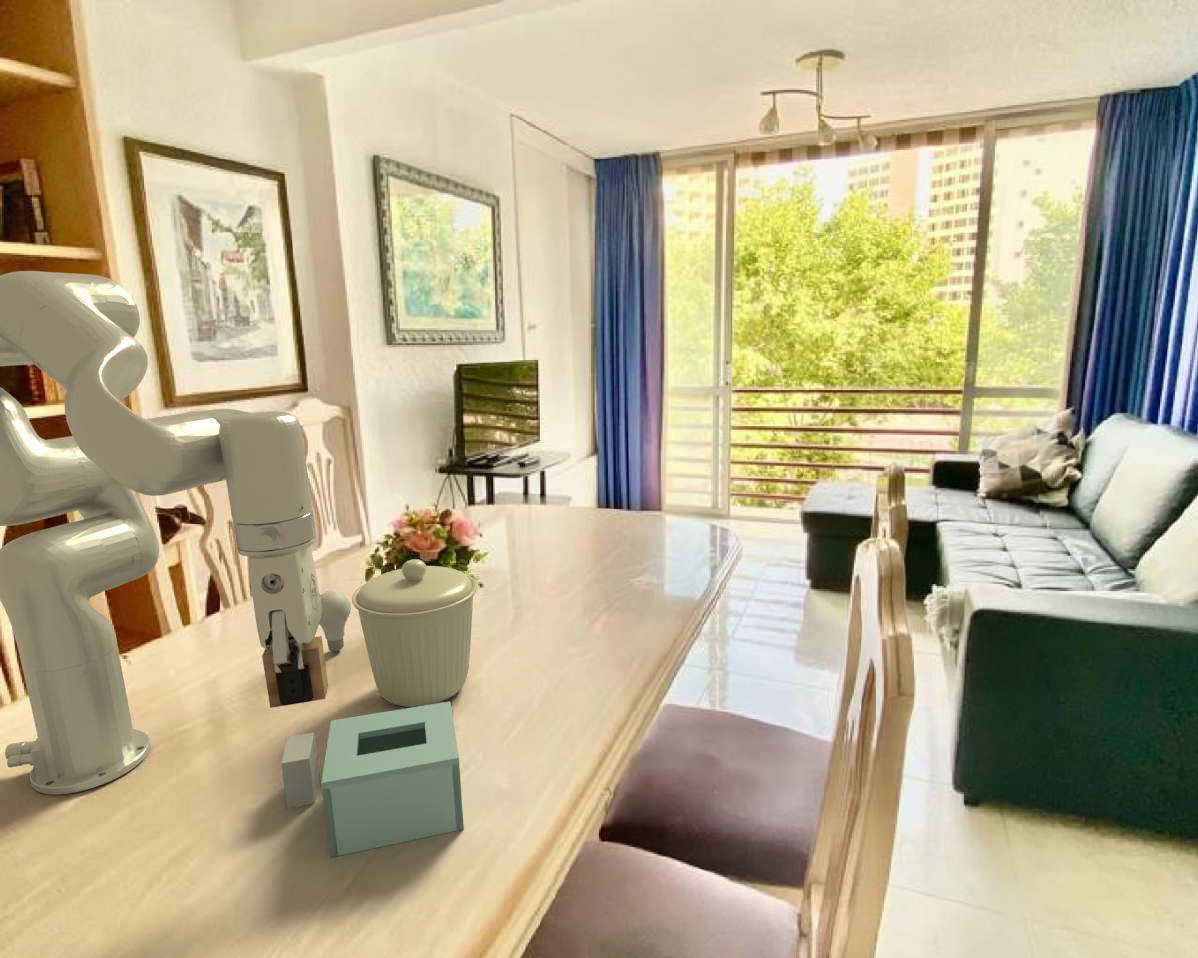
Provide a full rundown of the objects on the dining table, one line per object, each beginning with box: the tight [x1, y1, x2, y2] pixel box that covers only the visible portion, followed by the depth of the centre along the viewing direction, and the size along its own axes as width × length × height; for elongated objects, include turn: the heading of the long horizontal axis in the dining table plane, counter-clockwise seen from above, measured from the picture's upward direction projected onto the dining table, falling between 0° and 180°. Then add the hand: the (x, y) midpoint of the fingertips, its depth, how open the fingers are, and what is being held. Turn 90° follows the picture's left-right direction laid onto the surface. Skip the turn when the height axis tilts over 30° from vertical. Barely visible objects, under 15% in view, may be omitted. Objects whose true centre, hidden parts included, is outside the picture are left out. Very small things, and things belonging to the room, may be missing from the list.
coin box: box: [320, 701, 465, 858], centre depth 80 cm, size 14×12×9 cm
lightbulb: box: [319, 590, 352, 653], centre depth 118 cm, size 6×6×11 cm
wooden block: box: [261, 635, 329, 709], centre depth 75 cm, size 6×3×6 cm, turn 105°
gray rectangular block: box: [280, 732, 320, 809], centre depth 83 cm, size 6×3×6 cm, turn 16°
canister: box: [351, 558, 478, 708], centre depth 104 cm, size 18×18×21 cm
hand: (299, 692), depth 75 cm, fingers closed on wooden block, 3 cm apart
